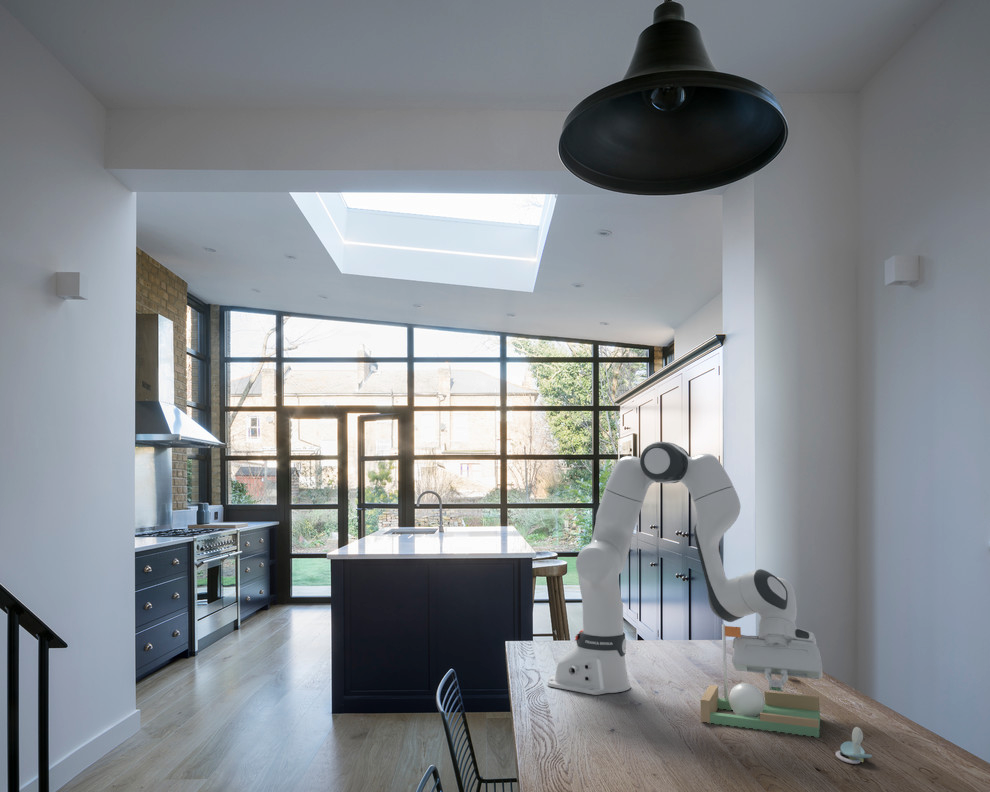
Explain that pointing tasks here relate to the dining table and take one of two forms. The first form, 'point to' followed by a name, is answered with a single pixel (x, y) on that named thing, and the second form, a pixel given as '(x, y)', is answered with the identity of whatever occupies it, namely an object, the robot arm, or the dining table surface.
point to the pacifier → (853, 749)
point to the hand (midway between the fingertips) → (775, 689)
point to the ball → (746, 700)
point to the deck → (778, 712)
